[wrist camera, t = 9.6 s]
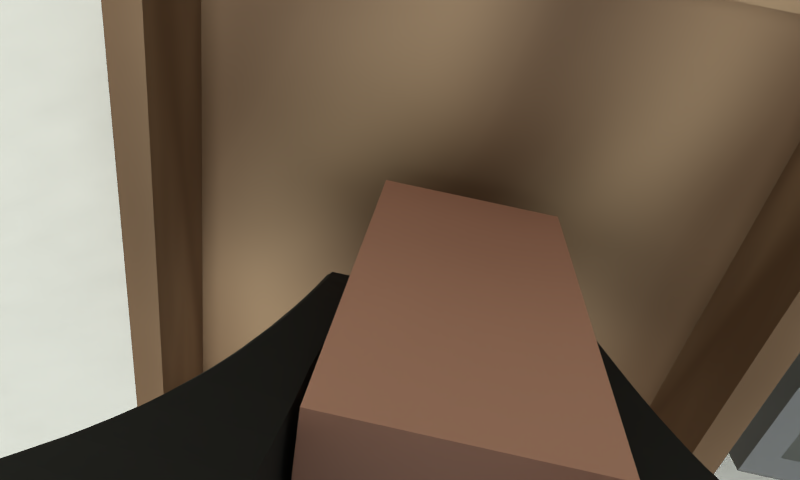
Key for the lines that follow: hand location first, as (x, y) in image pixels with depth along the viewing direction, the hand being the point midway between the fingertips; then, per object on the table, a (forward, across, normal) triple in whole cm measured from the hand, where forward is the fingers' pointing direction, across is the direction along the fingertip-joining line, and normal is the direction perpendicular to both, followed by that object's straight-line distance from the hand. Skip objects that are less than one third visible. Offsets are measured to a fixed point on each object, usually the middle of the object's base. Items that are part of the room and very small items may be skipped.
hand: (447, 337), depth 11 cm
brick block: (+2, 0, 0) cm, 3 cm away
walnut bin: (+4, 0, 0) cm, 4 cm away
